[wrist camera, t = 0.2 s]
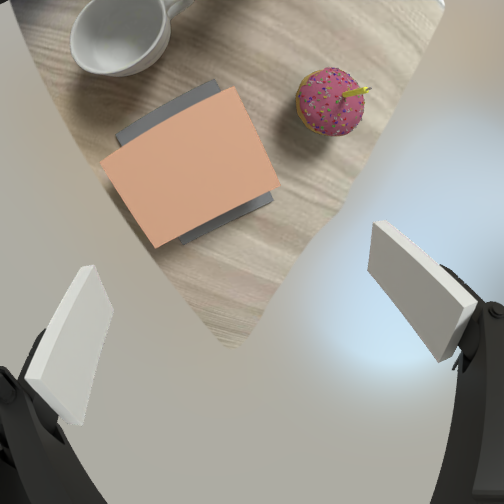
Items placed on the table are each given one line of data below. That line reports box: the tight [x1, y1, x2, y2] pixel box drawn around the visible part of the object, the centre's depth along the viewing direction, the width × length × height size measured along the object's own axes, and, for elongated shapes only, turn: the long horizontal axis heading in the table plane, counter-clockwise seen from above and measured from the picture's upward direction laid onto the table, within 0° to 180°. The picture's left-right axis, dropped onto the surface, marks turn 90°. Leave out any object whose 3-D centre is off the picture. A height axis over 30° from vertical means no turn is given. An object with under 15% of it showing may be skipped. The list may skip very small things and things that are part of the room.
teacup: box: [70, 0, 195, 77], centre depth 22 cm, size 14×11×8 cm
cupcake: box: [296, 67, 372, 136], centre depth 28 cm, size 9×8×12 cm
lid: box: [100, 86, 281, 249], centre depth 30 cm, size 12×16×2 cm
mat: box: [115, 79, 274, 245], centre depth 35 cm, size 18×14×1 cm
